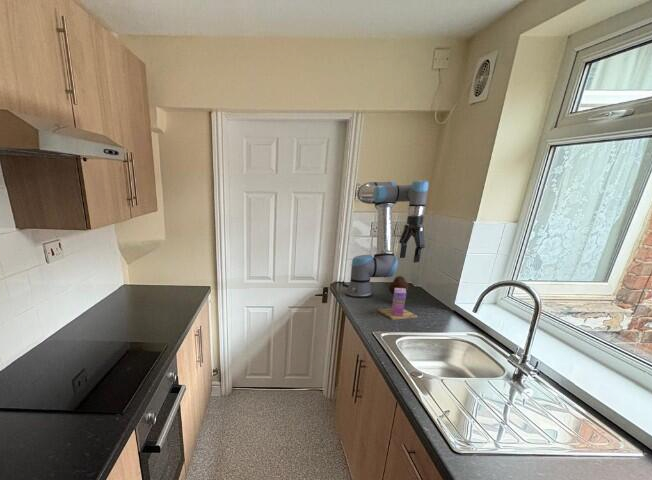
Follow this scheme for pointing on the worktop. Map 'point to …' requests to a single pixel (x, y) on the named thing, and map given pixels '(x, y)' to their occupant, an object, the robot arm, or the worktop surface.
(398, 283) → the ice cream bowl
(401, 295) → the box
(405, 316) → the oak board
